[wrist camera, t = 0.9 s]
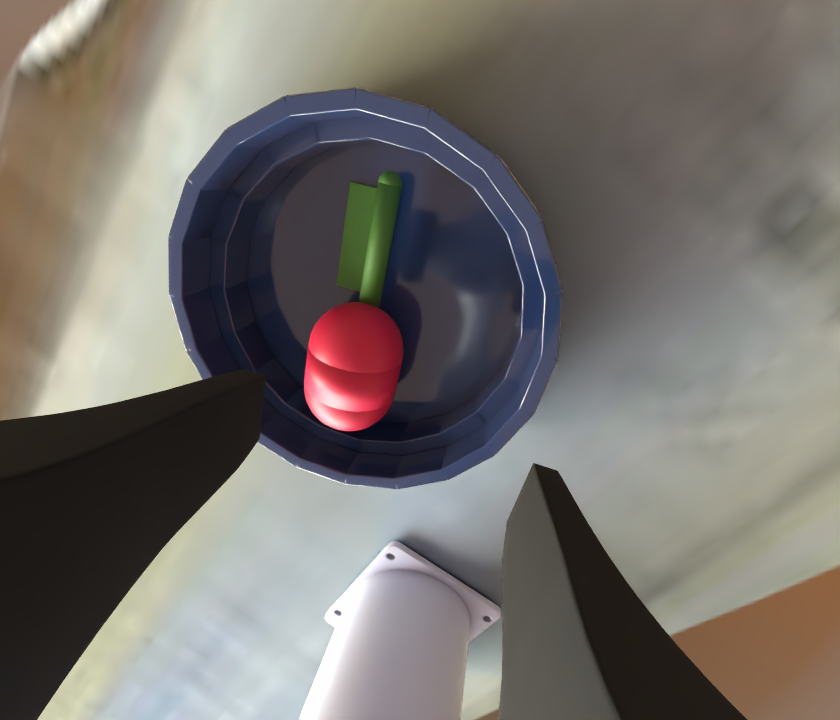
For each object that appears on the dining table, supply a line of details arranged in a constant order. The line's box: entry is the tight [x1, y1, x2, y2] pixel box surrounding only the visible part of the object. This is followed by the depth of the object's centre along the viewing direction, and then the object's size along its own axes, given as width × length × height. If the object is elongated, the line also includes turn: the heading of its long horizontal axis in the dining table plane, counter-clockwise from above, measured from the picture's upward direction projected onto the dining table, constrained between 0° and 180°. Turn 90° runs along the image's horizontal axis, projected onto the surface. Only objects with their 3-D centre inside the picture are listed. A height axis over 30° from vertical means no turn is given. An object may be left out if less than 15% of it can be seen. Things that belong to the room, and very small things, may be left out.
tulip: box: [304, 171, 404, 431], centre depth 18 cm, size 11×4×4 cm, turn 168°
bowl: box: [169, 87, 563, 489], centre depth 18 cm, size 15×15×4 cm
